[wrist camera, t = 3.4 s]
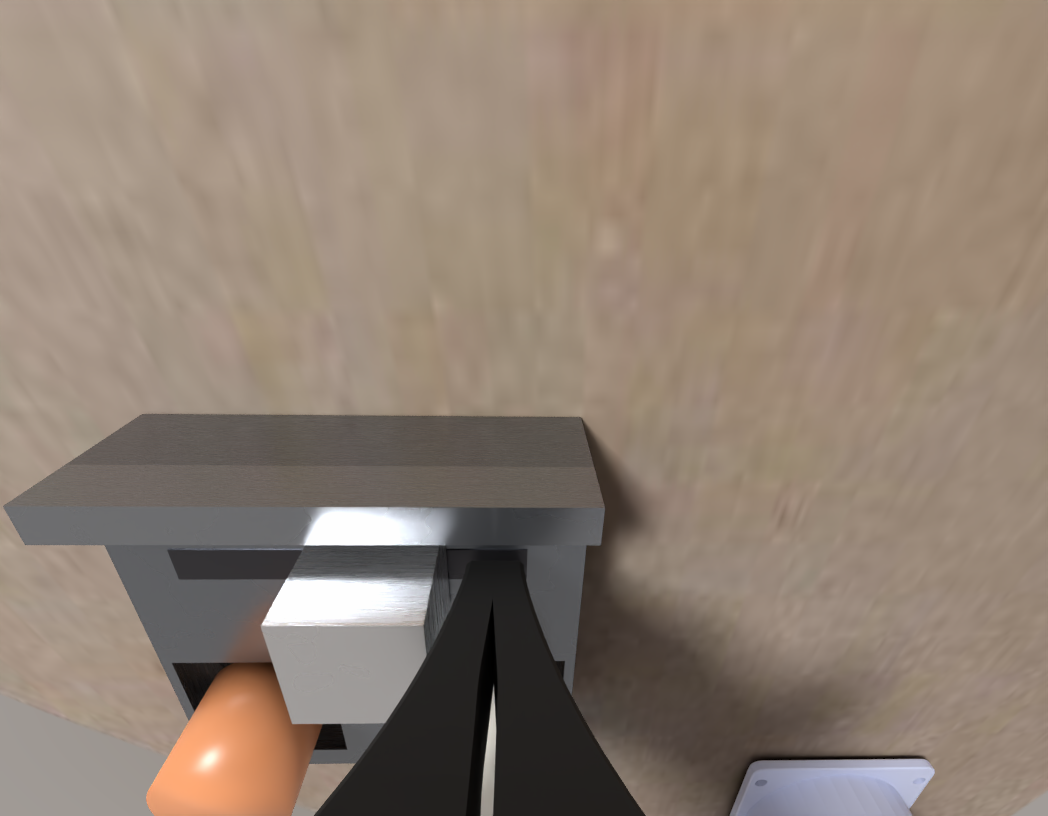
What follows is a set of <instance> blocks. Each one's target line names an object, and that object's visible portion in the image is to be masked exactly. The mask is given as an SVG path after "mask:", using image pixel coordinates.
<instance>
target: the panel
mask: <svg viewBox="0 0 1048 816" xmlns="http://www.w3.org/2000/svg"><path fill="white" fill-rule="evenodd" d="M3 507H4V509H5V511H6V513H7V514H8V516H9V518H10V519H11V521H12V523H13V525H14V526H15V528H16V530H17V532H18V533H19V535H20V537H21V539H22V540H23V542H24V544H25V545H105V547H106V549H107V551H108V553H109V555H110V558H111V560H112V562H113V564H114V566H115V568H116V570H117V572H118V574H119V576H120V578H121V580H122V583H123V585H124V587H125V589H126V591H127V593H128V595H129V597H130V599H131V601H132V603H133V605H134V607H135V610H136V612H137V614H138V616H139V618H140V620H141V622H142V624H143V626H144V628H145V630H146V632H147V635H148V637H149V639H150V641H151V643H152V645H153V647H154V649H155V651H156V653H157V655H158V657H159V659H160V662H161V664H162V666H163V668H164V670H165V672H166V674H167V676H168V678H169V680H170V682H171V684H172V687H173V689H174V691H175V693H176V695H177V697H178V699H179V701H180V703H181V705H182V707H183V709H184V711H185V714H186V716H187V718H188V720H190V719H191V717H192V715H193V714H194V712H195V710H196V708H197V707H198V705H199V703H200V702H201V700H202V698H203V697H204V695H205V693H206V691H207V690H208V688H209V686H210V685H211V683H212V681H213V680H214V678H215V676H216V675H217V674H218V673H219V672H220V671H221V670H222V669H223V668H225V667H226V666H228V665H230V664H233V663H250V662H272V660H271V657H270V654H269V651H268V648H267V645H266V642H265V639H264V636H263V632H262V629H261V625H262V623H263V621H264V619H265V617H266V616H267V614H268V612H269V610H270V608H271V607H272V605H273V603H274V601H275V599H276V598H277V596H278V594H279V592H280V590H281V589H282V587H283V585H284V583H285V581H286V579H287V578H288V576H289V574H290V572H291V570H292V569H293V567H294V565H295V563H296V561H297V560H298V558H299V556H300V554H301V552H302V551H303V549H304V547H305V545H446V555H447V569H448V583H449V597H450V609H451V606H452V604H453V602H454V599H455V597H456V595H457V592H458V590H459V587H460V584H461V582H462V579H463V576H464V573H465V569H466V565H467V564H468V563H469V562H470V561H520V562H521V563H523V564H524V571H525V576H526V581H527V586H528V589H529V593H530V597H531V600H532V603H533V606H534V609H535V612H536V615H537V618H538V621H539V623H540V626H541V629H542V631H543V634H544V636H545V639H546V641H547V644H548V646H549V649H550V651H551V653H552V656H553V658H554V660H555V662H556V664H557V667H558V669H559V671H560V673H561V675H562V677H563V679H564V681H565V684H566V686H567V688H568V690H569V692H570V694H571V695H572V688H573V678H574V668H575V657H576V647H577V637H578V627H579V617H580V607H581V596H582V586H583V576H584V566H585V556H586V546H587V545H601V539H602V531H603V522H604V513H605V505H604V502H603V498H602V494H601V491H600V487H599V483H598V479H597V476H596V472H595V468H594V464H593V461H592V457H591V453H590V450H589V446H588V442H587V438H586V435H585V431H584V427H583V423H582V420H581V417H468V416H331V415H194V414H142V415H140V416H139V417H137V418H136V419H134V420H133V421H131V422H129V423H128V424H126V425H125V426H123V427H122V428H120V429H119V430H117V431H116V432H114V433H113V434H111V435H110V436H108V437H107V438H105V439H104V440H102V441H101V442H99V443H98V444H96V445H95V446H93V447H92V448H90V449H89V450H87V451H86V452H84V453H83V454H81V455H80V456H78V457H77V458H75V459H74V460H72V461H71V462H69V463H67V464H66V465H64V466H63V467H61V468H60V469H58V470H57V471H55V472H54V473H52V474H51V475H49V476H48V477H46V478H45V479H43V480H42V481H40V482H39V483H37V484H36V485H34V486H33V487H31V488H30V489H28V490H27V491H25V492H24V493H22V494H21V495H19V496H18V497H16V498H15V499H13V500H12V501H10V502H9V503H7V504H5V505H4V506H3ZM384 724H385V723H366V724H323V725H322V728H321V731H320V733H319V736H318V739H317V742H316V745H315V748H314V751H313V754H312V757H311V760H310V763H309V764H334V763H357V761H358V760H359V759H360V757H361V756H362V755H363V753H364V752H365V751H366V749H367V748H368V746H369V745H370V743H371V742H372V741H373V739H374V738H375V736H376V735H377V734H378V732H379V731H380V729H381V728H382V727H383V725H384Z"/></svg>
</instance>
